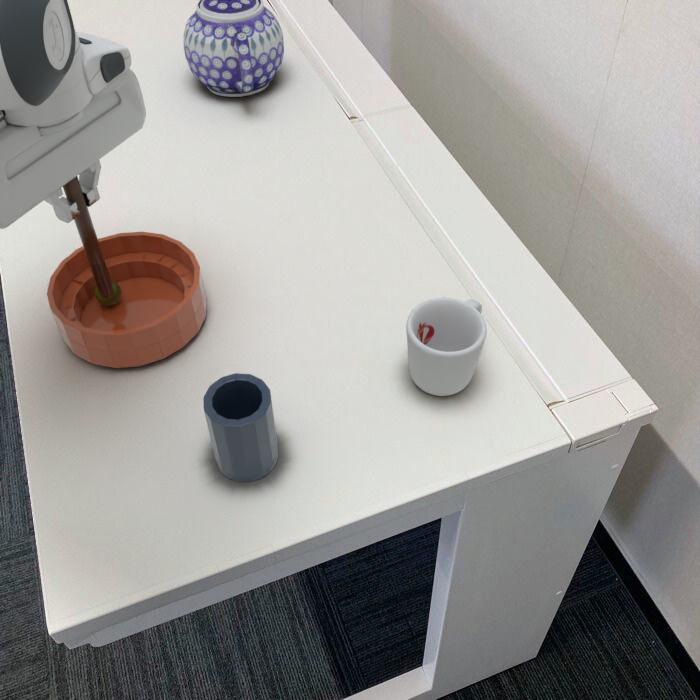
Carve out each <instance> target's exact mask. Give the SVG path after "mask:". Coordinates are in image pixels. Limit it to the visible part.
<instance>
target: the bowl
mask: <svg viewBox="0 0 700 700" xmlns="http://www.w3.org/2000/svg"><path fill="white" fill-rule="evenodd" d="M97 239H98V242H99V245H100V248H101V251H102V254H103V257H104V260H105V263H106V266H107V269H108V273H109V276H110V279H111V280H112V281H114V282H116V283H117V284H118V285H119V286H120V288H121V290H122V296H121V299H120V301H119V302H118V303H117V304H115V305H113V306H104V305H102V304H100V303H99V302H98V301H97V300H96V298H95V295H94V290H95V287H96V286H97V285H96V282H95V279H94V276H93V273H92V270H91V267H90V264H89V261H88V259H87V256H86V253H85V250H84V247H83V245H82V246H80V247H78V248H76V249H75V250H74V251H73V252H71V253H70V254H69V255H68V256H66V257H65V258H64V259H62V260H61V262H60V263H59V264H58V266H57V267H56V269H55V270H54V271H53V273H52V274H51V276H50V278H49V281H48V286H47V290H46V297H47V302H48V304H49V310H50V311H51V314H52V317H53V318H54V321H55V323H56V326H57V329H58V330H59V333H60V336H61V338H62V340H63V343H64V344H65V345H66V346H67V347H68V349H70V351H71V352H72V353H73V354H74V355H75V356H77V357H79V358H80V359H83V360H84V361H86V362H89V364H90V363H91V364H92V365H96V366H102V367H109V368H114V369H115V368H116V369H121V368H122V369H123V368H135V367H143V366H145V365H148V364H152V363H155V362H158V361H161V360H164V359H165V358H168V357H169V356H171V355H172V354H175V353H176V352H178V351H179V350H181V349H183V348H184V347H185V346H186V345H188V344H189V342H190V341H191V340H193V338H194V337H195V336H196V335H197V334H198V333H199V331H200V330H201V327H202V325H203V324H204V321H205V319H206V318H207V300H208V299H207V296H206V290H205V286H204V281H203V276H202V271H201V266H200V263H199V262H198V259H197V257H196V255H195V253H194V252H193V251H192V250H191V249H190V248H189V247H188V246H186V245H185V244H184V243H183V242H182V241H180V240H177V239H176V238H173V237H171V236H168V235H166V234H164V233H156V232H148V231H131V232H120V233H119V232H118V233H115V234H112V235H108V236H104V237H100V238H97Z"/></svg>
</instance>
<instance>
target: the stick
mask: <svg viewBox="0 0 700 700" xmlns="http://www.w3.org/2000/svg"><path fill="white" fill-rule="evenodd" d="M62 188H63V193H64V195H65V198H67V199H68V200H72V201H74V202H76V204H77V207H78V208H77V210H78V211H79V213H80V214H79V215H78V216H77V217H76V218H75V219H73V221H74V223H75V227H76V230H77V232H78V236H79V238H80V240H81V244H82V246H83V247H84V250H85V253H86V256H87V259H88V261H89V264H90V267H91V270H92V273H93V276H94V279H95V282H96V285H97V288H98V290H99V293H100V295H101V296H102V297H103V298H111V297H112V296H113V295H114V288H113V285H112V282H111V279H110V276H109V273H108V269H107V266H106V263H105V260H104V257H103V254H102V251H101V248H100V245H99V242H98V239H99V238H98V235H97V232H96V230H95V226H94V223H93V220H92V218H91V214H90V211H89V207H87V205H86V201H85V198H84V195H83V192H82V189H81V186H80V183H79V176H76V177H75V178H73V179H72V180H71V181H69V182H68V183H67V184H65V185H64V186H63V187H62Z"/></svg>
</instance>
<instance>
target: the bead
mask: <svg viewBox="0 0 700 700" xmlns="http://www.w3.org/2000/svg"><path fill="white" fill-rule="evenodd" d="M111 282H112V285H113V288H114V295H113V296H112V297H111V298H103V297H102V296H101V295H100V293H99V290H98V288H97V286H96V287H95V290H94V295H95V298H96V300H97V301H98V302H99V303H100V304H102V305H104V306H113V305H115V304H117V303H118V302H119V301H120V299H121V296H122V290H121V288H120V286H119V285H118V284H117V283H116V282H114V281H112V280H111Z"/></svg>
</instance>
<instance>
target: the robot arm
mask: <svg viewBox="0 0 700 700" xmlns="http://www.w3.org/2000/svg"><path fill="white" fill-rule="evenodd" d="M131 67H132V56H131V51H130V49H129V48H128V47H127V46H124V45H122V44H120V43H118V42H114V41H112V40H111V39H107V38H103V37H100V36H96V35H94V34H89V33H86V32H82V31H81V32H80V31H77V30H76V29H75V24H74V20H73V16H72V13H71V9H70V6H69V2H68V0H0V230H5V229H6V228H8V227H10V226H11V225H13V224H14V223H15V222H16V221H18V220H19V219H21V218H22V217H23V216H24V215H26V214H27V213H29V212H31V210H33V209H34V208H35V207H37V206H38V205H40V204H41V203H43V201H45V202H46V203H47V204H49V205H50V206H52V209H53V212H54V215H55V217H56V218H57V220H59V221H61V222H64V223H66V224H70V223H71V222H72V221H74V219H75V218H76V217H77V216H78V215H79V214H80V213H79V211H78V210H77V208H78V207H77V204H76V202H74V201H72V200H68V199H67V198H66V196H63V195H64V191H63V190H62V188H63V186H64V185H65V184H67V183H68V182H69V181H71V180H72V179H73V178H75V177H76V176H77V177H78V180H79V183H80V186H81V189H82V192H83V195H84V198H85V201H86V205H87V208H90V207H91V206H93V205H94V204H96V203H97V202H99V200H101V195H100V193H99V188H98V185H99V181H100V175H101V170H102V163H101V161H100V160H101V159H102V158H104V157H105V156H106V155H107V154H109V153H110V152H111V151H113V150H115V149H116V148H118V147H119V146H120V145H121V144H123V143H124V142H125V141H127V140H128V139H129V138H131V137H132V136H134V135H135V134H136V133H138V132H139V131H141V129H143V128H144V126H145V121H146V117H147V109H146V104H145V100H144V96H143V93H142V87H141V86H140V85H141V84H140V82H139V79H138V76H137V75H136V74H135V72H134V70H132V69H131Z"/></svg>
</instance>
